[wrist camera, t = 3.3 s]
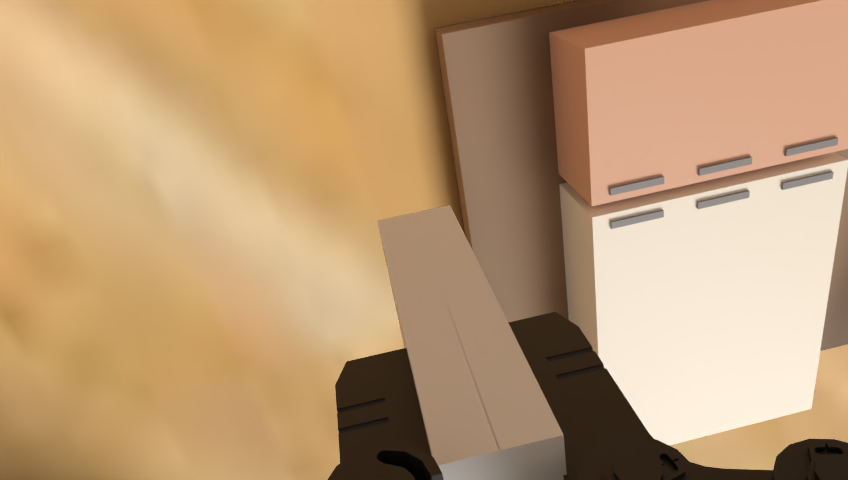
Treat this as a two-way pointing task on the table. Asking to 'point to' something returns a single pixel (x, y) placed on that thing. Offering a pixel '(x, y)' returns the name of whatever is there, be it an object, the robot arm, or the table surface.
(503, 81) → the board
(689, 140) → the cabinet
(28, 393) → the table surface
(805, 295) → the cream flat block
